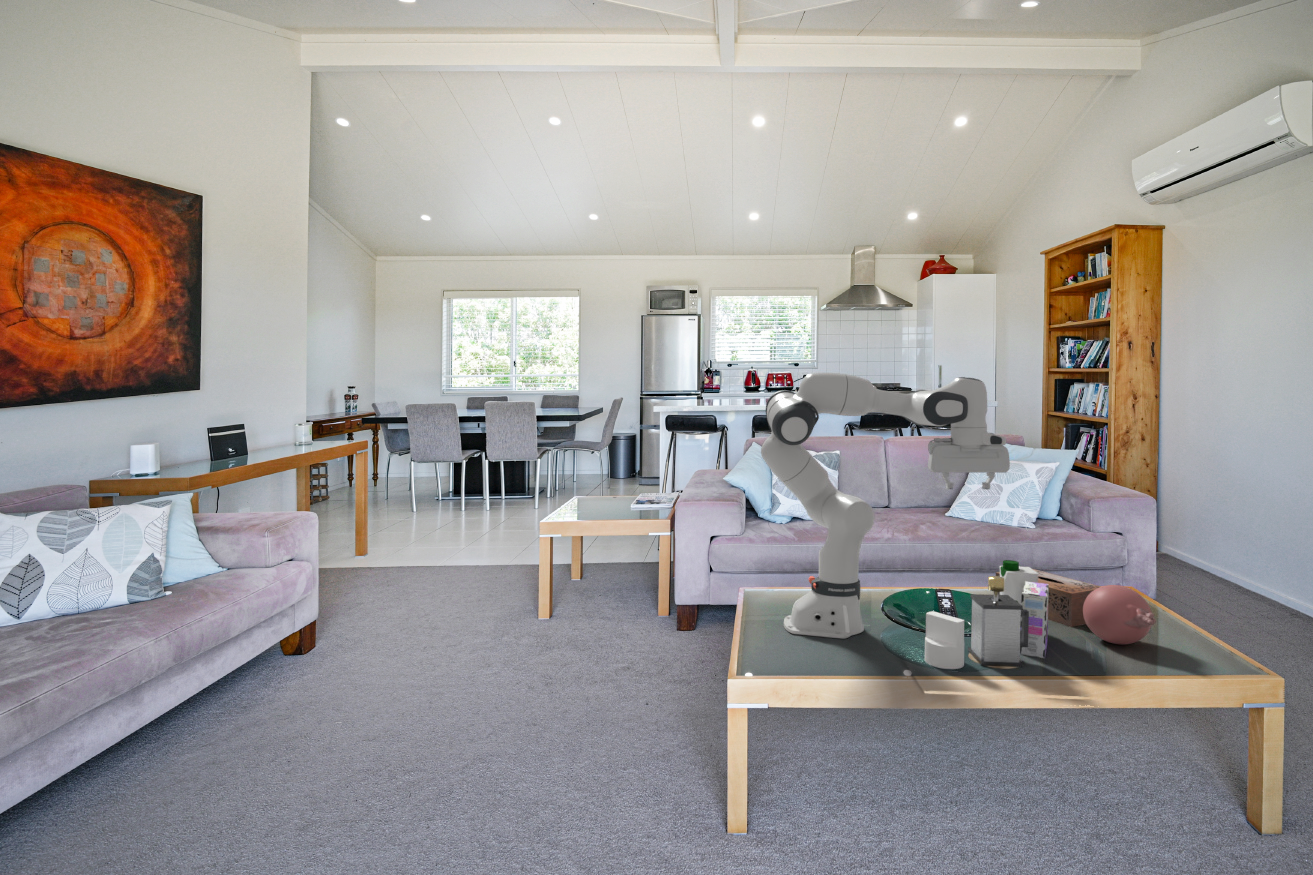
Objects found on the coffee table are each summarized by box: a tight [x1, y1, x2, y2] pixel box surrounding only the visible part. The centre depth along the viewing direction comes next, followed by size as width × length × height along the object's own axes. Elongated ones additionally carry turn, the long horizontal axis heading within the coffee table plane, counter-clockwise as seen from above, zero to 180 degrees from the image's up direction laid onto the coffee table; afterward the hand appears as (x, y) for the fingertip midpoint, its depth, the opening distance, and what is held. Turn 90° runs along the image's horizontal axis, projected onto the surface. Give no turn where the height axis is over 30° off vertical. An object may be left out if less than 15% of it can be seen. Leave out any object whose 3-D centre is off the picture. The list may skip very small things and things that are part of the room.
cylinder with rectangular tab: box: [924, 610, 965, 670], centre depth 169 cm, size 9×9×12 cm
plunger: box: [987, 575, 1005, 601], centre depth 170 cm, size 6×6×17 cm
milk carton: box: [999, 559, 1038, 628], centre depth 191 cm, size 9×9×20 cm
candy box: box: [1020, 581, 1049, 659], centre depth 178 cm, size 14×6×16 cm, turn 148°
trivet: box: [968, 652, 1022, 670], centre depth 171 cm, size 12×12×1 cm
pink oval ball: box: [1083, 584, 1157, 645], centre depth 180 cm, size 15×20×15 cm
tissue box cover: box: [995, 568, 1102, 628], centre depth 210 cm, size 26×14×10 cm, turn 23°
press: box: [967, 593, 1029, 668], centre depth 170 cm, size 12×10×15 cm
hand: (967, 489), depth 185 cm, fingers open, 8 cm apart
